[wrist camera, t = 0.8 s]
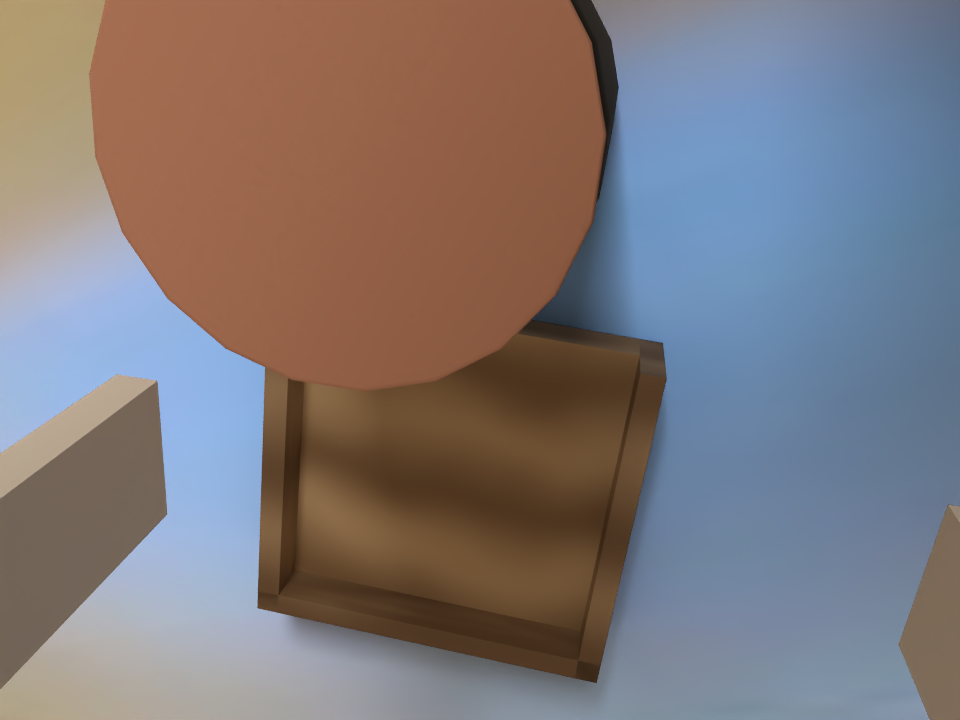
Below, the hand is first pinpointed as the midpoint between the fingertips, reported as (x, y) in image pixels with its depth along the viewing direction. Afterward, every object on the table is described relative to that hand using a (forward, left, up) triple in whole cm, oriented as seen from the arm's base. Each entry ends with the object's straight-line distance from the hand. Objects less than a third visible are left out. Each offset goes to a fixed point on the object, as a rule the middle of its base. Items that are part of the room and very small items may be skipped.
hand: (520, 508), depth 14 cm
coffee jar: (-5, -5, -22) cm, 23 cm away
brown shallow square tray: (+12, -4, -22) cm, 25 cm away
